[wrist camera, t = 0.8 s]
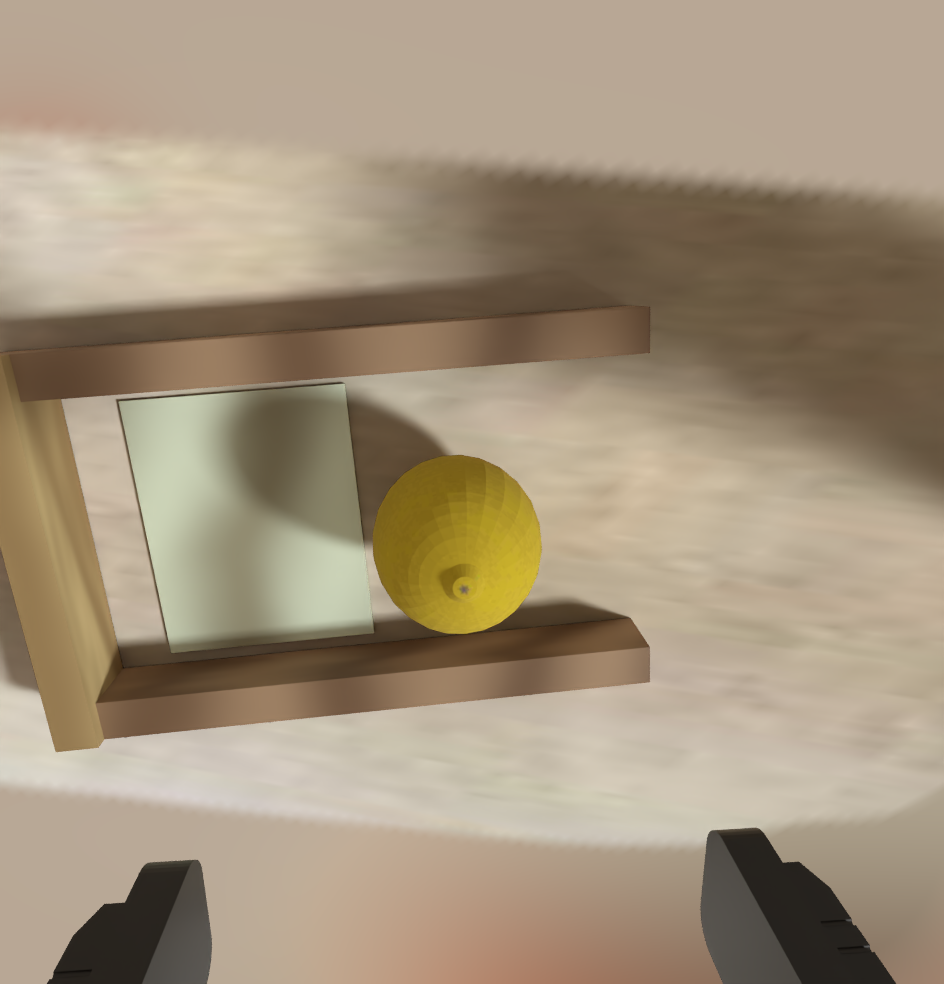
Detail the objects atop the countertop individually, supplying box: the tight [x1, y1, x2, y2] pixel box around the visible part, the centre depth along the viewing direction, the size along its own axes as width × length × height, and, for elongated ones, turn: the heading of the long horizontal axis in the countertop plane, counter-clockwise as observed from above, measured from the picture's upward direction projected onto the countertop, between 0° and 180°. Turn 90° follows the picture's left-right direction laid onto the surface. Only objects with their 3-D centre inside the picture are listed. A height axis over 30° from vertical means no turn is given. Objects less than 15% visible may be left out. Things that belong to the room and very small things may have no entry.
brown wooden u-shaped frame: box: [0, 306, 650, 752], centre depth 25 cm, size 22×14×3 cm, turn 94°
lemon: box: [373, 455, 542, 634], centre depth 23 cm, size 6×6×8 cm
